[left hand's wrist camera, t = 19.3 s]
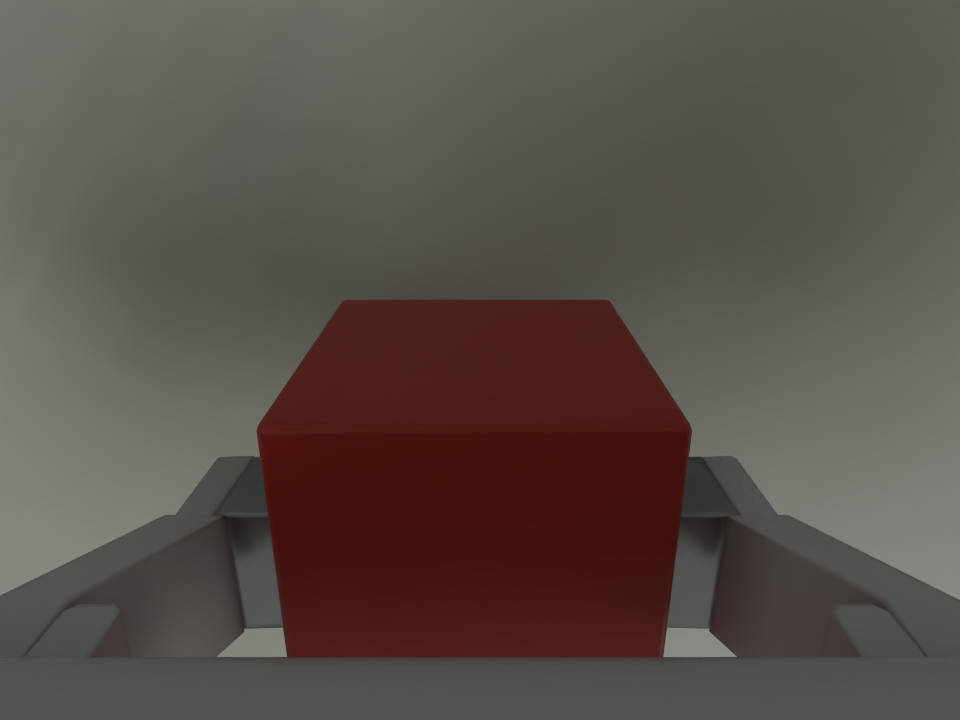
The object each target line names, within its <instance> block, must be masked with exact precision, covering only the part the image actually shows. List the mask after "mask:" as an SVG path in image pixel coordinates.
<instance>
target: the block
mask: <svg viewBox="0 0 960 720" xmlns="http://www.w3.org/2000/svg"><path fill="white" fill-rule="evenodd" d="M691 434H692V429H691V426H690V424H689V422H688V421H687V419H686V418H685V416H684V414H683V413H682V411H681V410H680V408H679V407H678V405H677V404H676V402H675V401H674V399H673V398H672V396H671V395H670V393H669V391H668V390H667V388H666V387H665V385H664V384H663V382H662V381H661V379H660V378H659V376H658V375H657V373H656V371H655V370H654V368H653V367H652V365H651V364H650V362H649V361H648V359H647V358H646V356H645V355H644V353H643V351H642V350H641V348H640V347H639V345H638V344H637V342H636V341H635V339H634V338H633V336H632V335H631V333H630V332H629V330H628V328H627V327H626V325H625V324H624V322H623V321H622V319H621V318H620V316H619V315H618V313H617V312H616V310H615V308H614V307H613V305H612V304H611V302H610V301H607V300H345V301H343V302H342V303H341V304H340V306H339V307H338V309H337V310H336V312H335V313H334V315H333V316H332V318H331V319H330V321H329V322H328V324H327V325H326V326H325V328H324V329H323V331H322V332H321V334H320V335H319V337H318V338H317V340H316V341H315V343H314V344H313V346H312V347H311V349H310V350H309V351H308V353H307V354H306V356H305V357H304V359H303V360H302V362H301V363H300V365H299V366H298V368H297V369H296V371H295V372H294V374H293V375H292V376H291V378H290V379H289V381H288V382H287V384H286V385H285V387H284V388H283V390H282V391H281V393H280V394H279V396H278V397H277V399H276V400H275V401H274V403H273V404H272V406H271V407H270V409H269V410H268V412H267V413H266V415H265V416H264V418H263V419H262V421H261V422H260V424H259V425H258V428H257V437H258V444H259V452H260V459H261V467H262V474H263V481H264V489H265V496H266V504H267V511H268V518H269V526H270V533H271V541H272V548H273V555H274V563H275V570H276V578H277V585H278V592H279V600H280V607H281V615H282V622H283V629H284V637H285V644H286V652H287V657H663V654H664V646H665V638H666V630H667V622H668V615H669V607H670V599H671V591H672V583H673V575H674V568H675V560H676V552H677V544H678V536H679V528H680V521H681V513H682V505H683V497H684V489H685V481H686V474H687V466H688V458H689V450H690V442H691Z"/></svg>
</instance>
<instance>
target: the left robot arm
mask: <svg viewBox="0 0 960 720" xmlns="http://www.w3.org/2000/svg"><path fill="white" fill-rule="evenodd" d="M282 627H283V622H282V615H281V607H280V600H279V592H278V585H277V578H276V570H275V563H274V555H273V548H272V541H271V533H270V526H269V518H268V511H267V504H266V496H265V489H264V481H263V474H262V467H261V459H260V457H254V456H234V457H220V458H218V459H217V460H216V461H215V462H214V464H213V465H212V466H211V468H210V469H209V470H208V472H207V473H206V474H205V476H204V477H203V478H202V480H201V481H200V483H199V484H198V485H197V487H196V488H195V489H194V491H193V492H192V493H191V495H190V496H189V497H188V499H187V500H186V501H185V503H184V504H183V505H182V507H181V508H180V509H179V511H178V512H177V514H176V515H164V516H162V517H160V518H158V519H156V520H154V521H152V522H150V523H148V524H146V525H144V526H142V527H140V528H138V529H136V530H134V531H131V532H129V533H127V534H125V535H123V536H121V537H119V538H117V539H115V540H113V541H111V542H109V543H107V544H105V545H103V546H101V547H99V548H97V549H95V550H93V551H91V552H89V553H87V554H85V555H82V556H80V557H78V558H76V559H74V560H72V561H70V562H68V563H66V564H64V565H62V566H60V567H58V568H56V569H54V570H52V571H50V572H48V573H46V574H44V575H42V576H40V577H38V578H35V579H33V580H31V581H29V582H27V583H25V584H23V585H21V586H19V587H17V588H15V589H13V590H11V591H9V592H7V593H5V594H3V595H1V596H0V720H960V600H958V599H956V598H954V597H952V596H950V595H948V594H946V593H944V592H942V591H940V590H938V589H936V588H934V587H932V586H930V585H928V584H926V583H924V582H922V581H920V580H918V579H916V578H914V577H912V576H910V575H908V574H906V573H904V572H902V571H900V570H898V569H896V568H894V567H892V566H890V565H888V564H886V563H884V562H882V561H880V560H878V559H876V558H874V557H872V556H870V555H868V554H866V553H864V552H862V551H860V550H858V549H856V548H854V547H852V546H850V545H848V544H845V543H843V542H841V541H839V540H837V539H835V538H833V537H831V536H829V535H827V534H825V533H823V532H821V531H819V530H817V529H815V528H813V527H811V526H809V525H807V524H805V523H803V522H801V521H799V520H797V519H795V518H793V517H791V516H789V515H777V513H776V512H775V510H774V509H773V508H772V506H771V505H770V504H769V502H768V501H767V500H766V498H765V497H764V495H763V494H762V493H761V491H760V490H759V489H758V487H757V486H756V485H755V483H754V482H753V480H752V479H751V478H750V476H749V475H748V474H747V472H746V471H745V469H744V468H743V467H742V465H741V464H740V463H739V461H738V460H737V459H736V458H734V457H732V456H716V457H689V458H688V466H687V474H686V481H685V489H684V497H683V505H682V513H681V521H680V528H679V536H678V544H677V552H676V560H675V568H674V575H673V583H672V591H671V599H670V607H669V615H668V622H667V627H670V628H707V629H710V630H709V631H710V632H711V633H712V634H713V635H714V636H715V637H716V638H717V639H718V640H720V641H721V642H722V643H723V644H724V645H725V646H726V647H727V648H728V649H729V650H731V651H732V652H733V653H734V654H735V655H736V656H737V657H217V656H218V655H219V654H220V653H221V652H222V651H223V650H224V649H226V648H227V647H228V646H229V645H230V644H231V643H232V642H233V641H234V640H236V639H237V638H238V637H239V636H240V635H241V634H242V633H243V632H244V629H247V628H282Z"/></svg>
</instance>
